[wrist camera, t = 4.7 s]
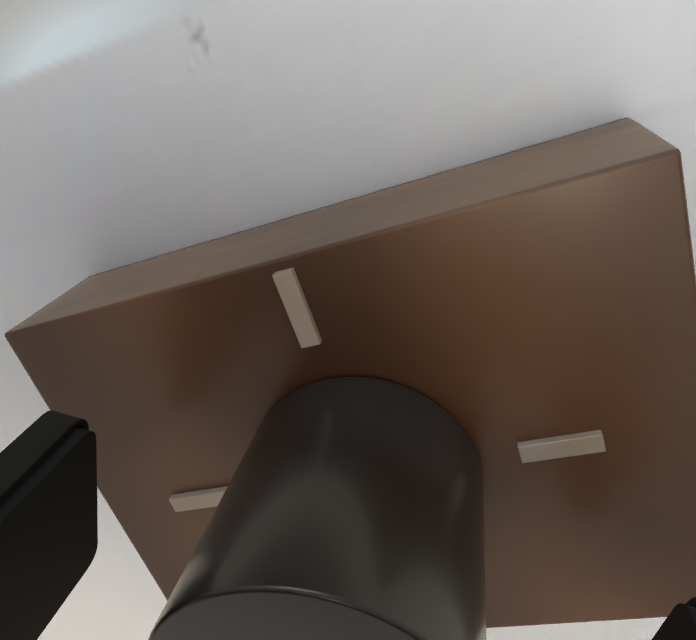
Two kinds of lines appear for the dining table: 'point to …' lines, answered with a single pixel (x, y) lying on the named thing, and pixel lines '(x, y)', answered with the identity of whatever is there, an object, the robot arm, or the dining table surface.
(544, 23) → the dining table surface
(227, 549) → the knob
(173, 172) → the dining table surface
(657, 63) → the dining table surface
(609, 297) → the panel
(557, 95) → the dining table surface
